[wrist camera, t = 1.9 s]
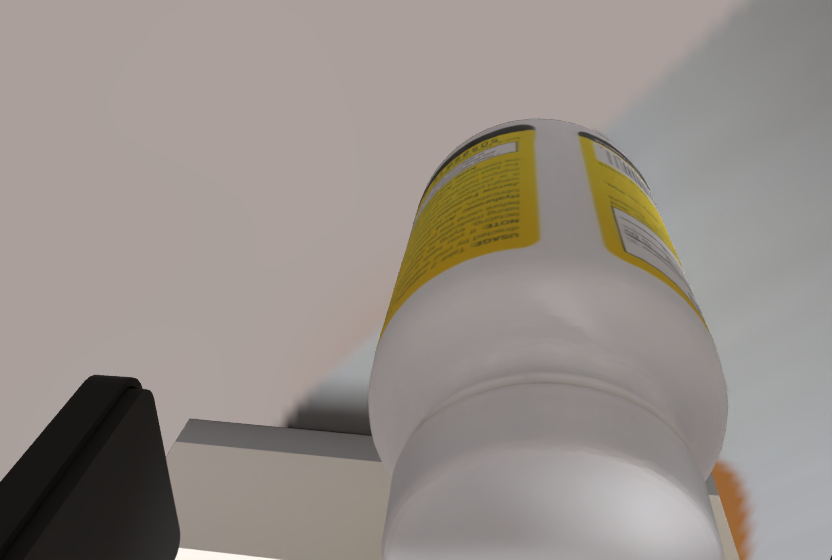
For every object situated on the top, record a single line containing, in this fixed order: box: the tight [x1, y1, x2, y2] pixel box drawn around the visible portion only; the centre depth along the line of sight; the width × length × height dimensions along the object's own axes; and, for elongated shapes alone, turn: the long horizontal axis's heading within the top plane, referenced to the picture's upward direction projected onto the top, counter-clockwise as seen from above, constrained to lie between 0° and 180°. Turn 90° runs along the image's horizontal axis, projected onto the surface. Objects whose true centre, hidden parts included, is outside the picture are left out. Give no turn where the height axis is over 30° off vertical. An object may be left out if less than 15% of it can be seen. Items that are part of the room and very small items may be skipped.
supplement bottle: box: [368, 119, 728, 560], centre depth 13 cm, size 5×5×10 cm
